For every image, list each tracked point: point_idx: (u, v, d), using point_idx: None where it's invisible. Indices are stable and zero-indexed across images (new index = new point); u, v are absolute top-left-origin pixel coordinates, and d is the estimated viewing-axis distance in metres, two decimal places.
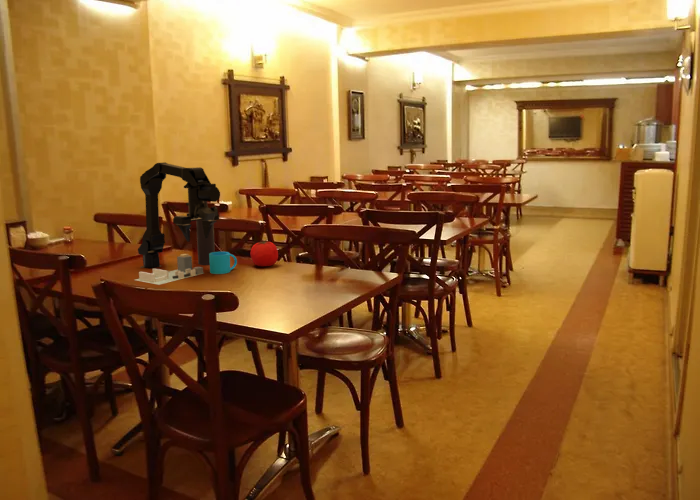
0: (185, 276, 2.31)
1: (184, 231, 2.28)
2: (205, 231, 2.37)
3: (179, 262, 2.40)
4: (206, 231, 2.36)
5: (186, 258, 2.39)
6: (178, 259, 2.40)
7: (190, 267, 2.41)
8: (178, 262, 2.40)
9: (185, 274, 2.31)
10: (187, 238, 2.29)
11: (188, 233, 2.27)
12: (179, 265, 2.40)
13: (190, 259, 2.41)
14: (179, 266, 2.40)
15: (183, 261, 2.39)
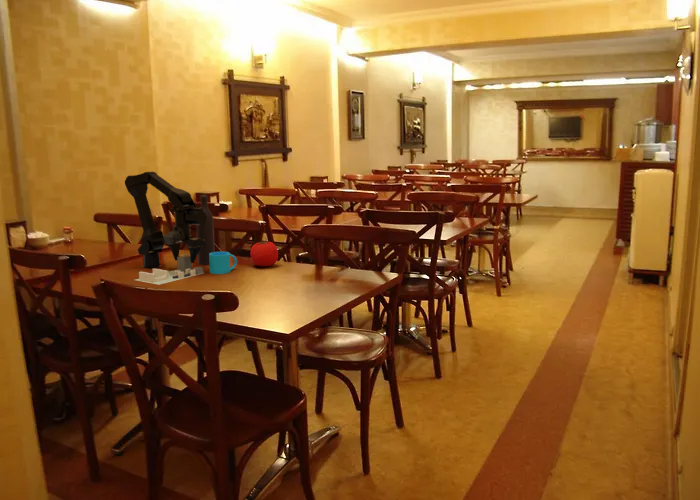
0: (185, 276, 2.31)
1: None
2: None
3: (179, 262, 2.40)
4: None
5: (186, 258, 2.39)
6: (178, 259, 2.40)
7: (190, 267, 2.41)
8: (178, 262, 2.40)
9: (185, 274, 2.31)
10: None
11: (172, 252, 2.42)
12: (179, 265, 2.40)
13: (190, 259, 2.41)
14: (179, 266, 2.40)
15: (183, 261, 2.39)
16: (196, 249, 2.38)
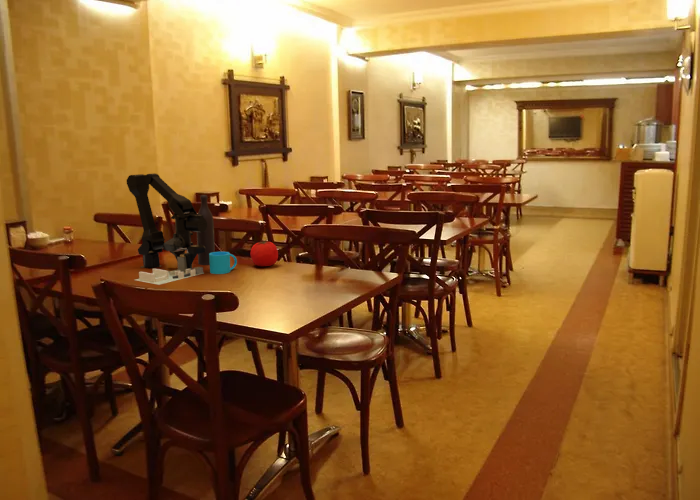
0: (185, 276, 2.31)
1: None
2: None
3: (179, 262, 2.40)
4: None
5: None
6: (178, 259, 2.40)
7: None
8: (178, 262, 2.40)
9: (185, 274, 2.31)
10: None
11: None
12: (179, 265, 2.40)
13: None
14: (179, 266, 2.40)
15: (183, 261, 2.39)
16: (192, 255, 2.40)
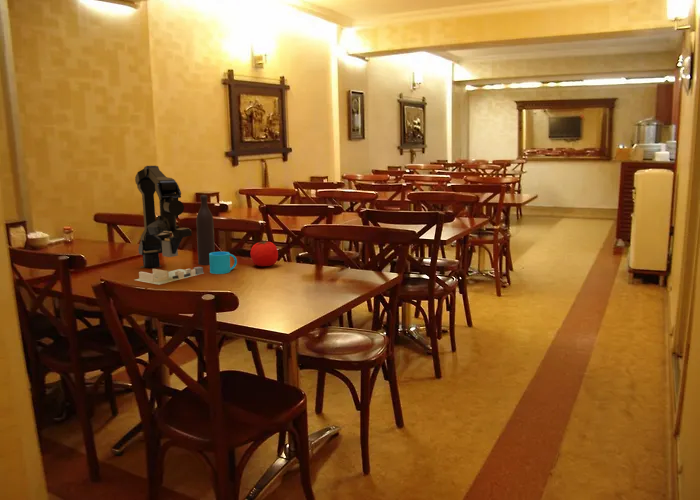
0: (185, 276, 2.31)
1: None
2: None
3: (164, 246, 2.26)
4: None
5: None
6: (163, 243, 2.26)
7: (176, 252, 2.27)
8: (163, 246, 2.26)
9: (185, 274, 2.31)
10: None
11: (161, 244, 2.27)
12: (164, 249, 2.26)
13: None
14: (164, 251, 2.26)
15: (168, 245, 2.24)
16: (178, 239, 2.26)
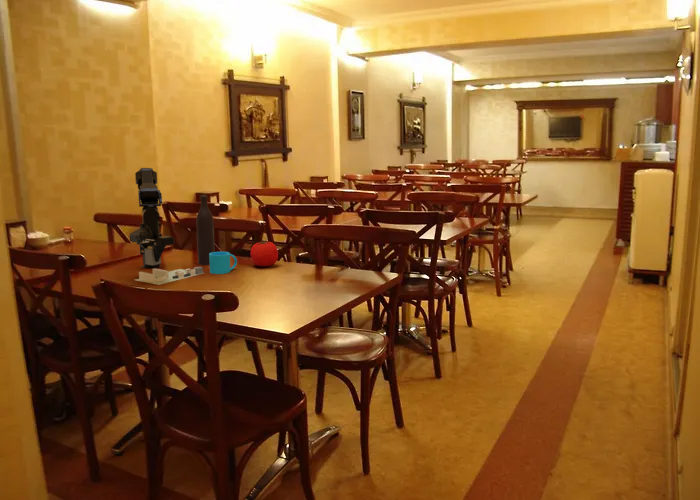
0: (185, 276, 2.31)
1: None
2: None
3: (147, 254, 2.25)
4: None
5: None
6: (145, 251, 2.25)
7: (159, 260, 2.26)
8: (146, 254, 2.25)
9: (185, 274, 2.31)
10: None
11: None
12: (147, 258, 2.25)
13: None
14: (147, 259, 2.25)
15: (151, 253, 2.23)
16: (161, 247, 2.24)
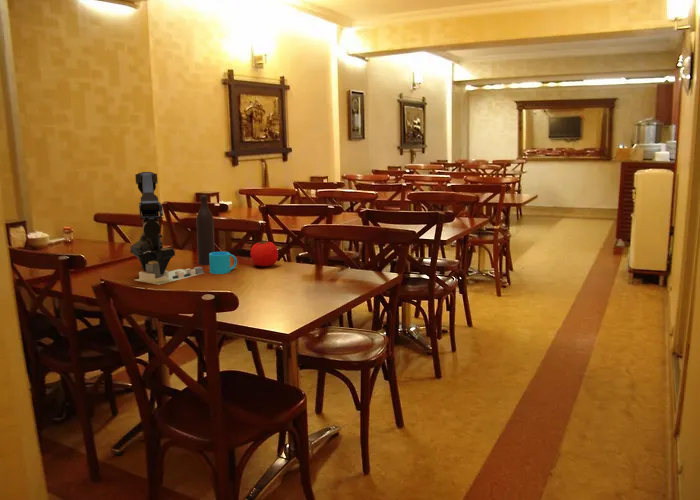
0: (185, 276, 2.31)
1: None
2: None
3: (147, 270, 2.26)
4: None
5: (155, 265, 2.25)
6: (146, 267, 2.26)
7: (159, 275, 2.27)
8: (146, 270, 2.26)
9: (185, 274, 2.31)
10: None
11: (141, 263, 2.28)
12: None
13: None
14: None
15: (152, 269, 2.24)
16: (166, 260, 2.24)
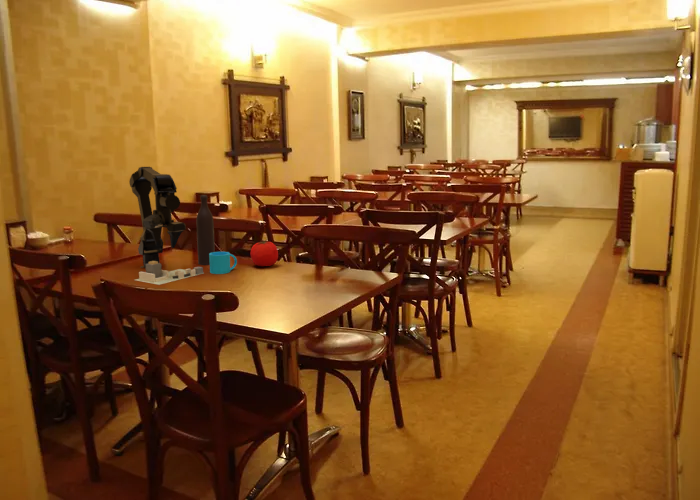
0: (185, 276, 2.31)
1: None
2: None
3: (147, 270, 2.26)
4: None
5: (155, 265, 2.25)
6: (146, 267, 2.26)
7: (159, 275, 2.27)
8: (146, 270, 2.26)
9: (185, 274, 2.31)
10: None
11: (153, 236, 2.36)
12: None
13: (159, 266, 2.27)
14: None
15: (152, 269, 2.24)
16: (177, 234, 2.31)
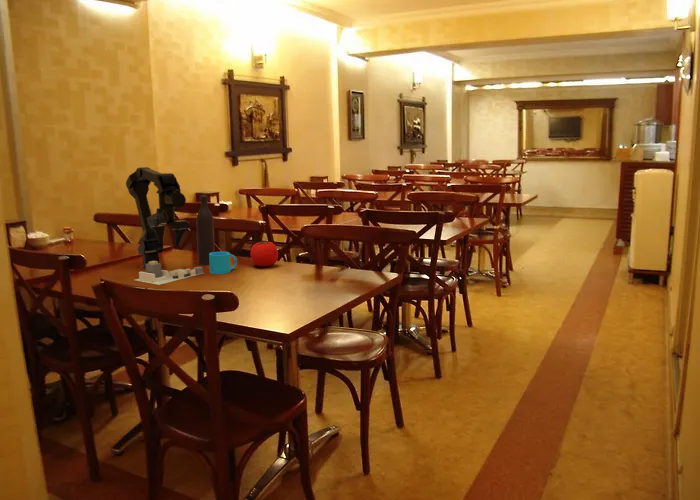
0: (185, 276, 2.31)
1: None
2: None
3: (147, 270, 2.26)
4: None
5: (155, 265, 2.25)
6: (146, 267, 2.26)
7: (159, 275, 2.27)
8: (146, 270, 2.26)
9: (185, 274, 2.31)
10: None
11: (156, 235, 2.38)
12: None
13: (159, 266, 2.27)
14: None
15: (152, 269, 2.24)
16: (180, 232, 2.33)
